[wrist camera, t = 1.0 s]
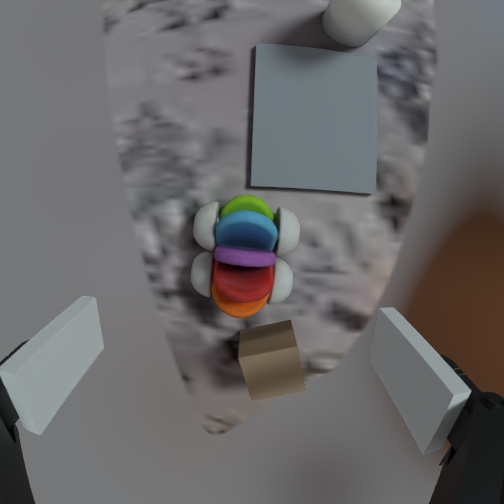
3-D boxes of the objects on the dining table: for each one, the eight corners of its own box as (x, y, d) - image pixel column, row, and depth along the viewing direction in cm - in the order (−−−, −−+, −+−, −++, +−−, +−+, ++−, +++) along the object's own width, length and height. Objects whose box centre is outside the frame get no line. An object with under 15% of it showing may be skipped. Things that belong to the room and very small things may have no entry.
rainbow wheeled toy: (194, 292, 29) (178, 329, 22) (201, 188, 26) (184, 194, 19) (284, 302, 29) (293, 341, 22) (299, 198, 27) (316, 208, 20)
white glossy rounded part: (321, 1, 22) (338, -37, 15) (369, 11, 22) (396, -22, 15) (322, 42, 23) (342, 8, 16) (373, 51, 23) (404, 23, 16)
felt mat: (256, 45, 23) (256, 43, 22) (374, 60, 23) (376, 58, 23) (250, 185, 26) (250, 185, 26) (372, 193, 26) (374, 194, 26)
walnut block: (240, 329, 30) (238, 358, 25) (290, 319, 30) (297, 346, 25) (251, 369, 31) (251, 400, 26) (298, 360, 31) (305, 390, 26)
